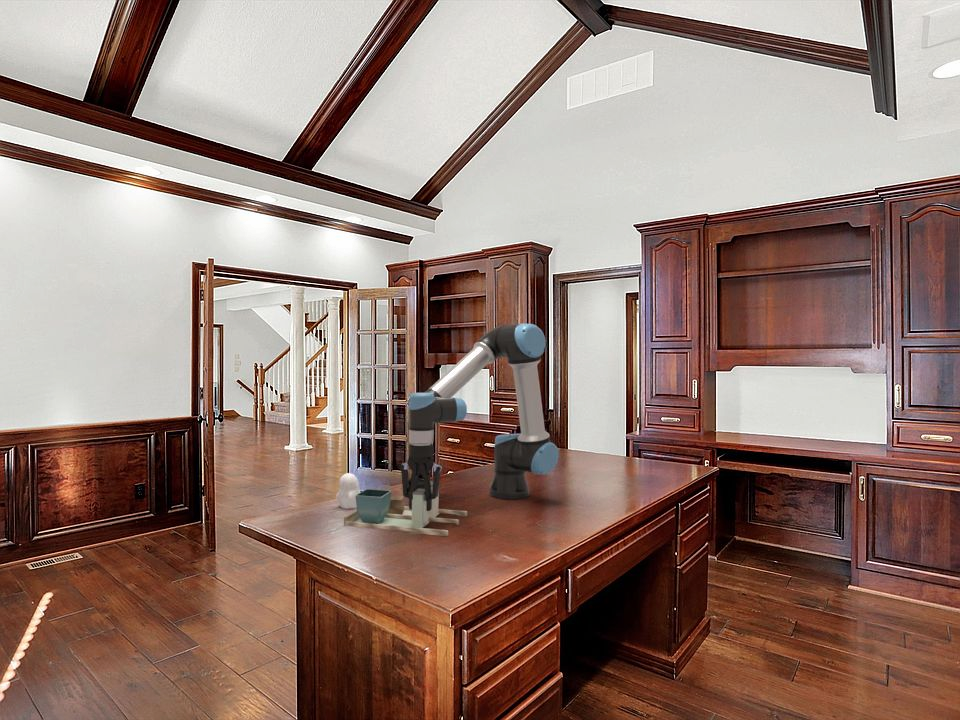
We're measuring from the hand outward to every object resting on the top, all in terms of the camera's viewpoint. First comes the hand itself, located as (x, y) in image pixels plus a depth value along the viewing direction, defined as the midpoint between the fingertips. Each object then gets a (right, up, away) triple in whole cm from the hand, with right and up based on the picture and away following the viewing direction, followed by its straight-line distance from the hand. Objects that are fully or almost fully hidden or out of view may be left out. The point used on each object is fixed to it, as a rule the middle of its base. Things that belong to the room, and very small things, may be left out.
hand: (420, 520), depth 170 cm
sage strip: (-9, -2, +2) cm, 10 cm away
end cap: (-5, -2, +37) cm, 38 cm away
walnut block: (-10, -1, +13) cm, 17 cm away
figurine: (-26, -2, +21) cm, 34 cm away
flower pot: (-15, -2, +4) cm, 15 cm away
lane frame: (-4, -2, +6) cm, 8 cm away
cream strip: (-7, -2, +13) cm, 15 cm away
